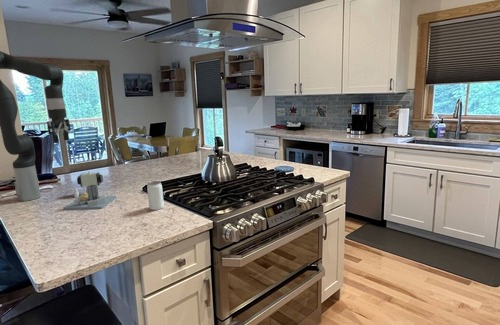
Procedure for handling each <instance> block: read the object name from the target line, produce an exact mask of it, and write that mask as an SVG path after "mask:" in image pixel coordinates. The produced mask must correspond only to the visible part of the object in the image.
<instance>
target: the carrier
mask: <svg viewBox="0 0 500 325" xmlns="http://www.w3.org/2000/svg"><path fill="white" fill-rule="evenodd" d="M73 196H74V199H75V200H74V201H72V202H71V203H69V204H66V205H65V206H63V207H62V210H64V211H66V210H69V211H70V210H96V209H97V210H102V209H104V207H106V206H108V205H109V204H110V203H111V202H113V201H114V200H115V199H117V195H109V194H108V195H99V199H96V200H92V201H87V203H88V204H85V200H88V194H87V193H86V192H84V193H82V194H80V193H79V190H78V189H77V188H75V189H74V192H73Z"/></svg>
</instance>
